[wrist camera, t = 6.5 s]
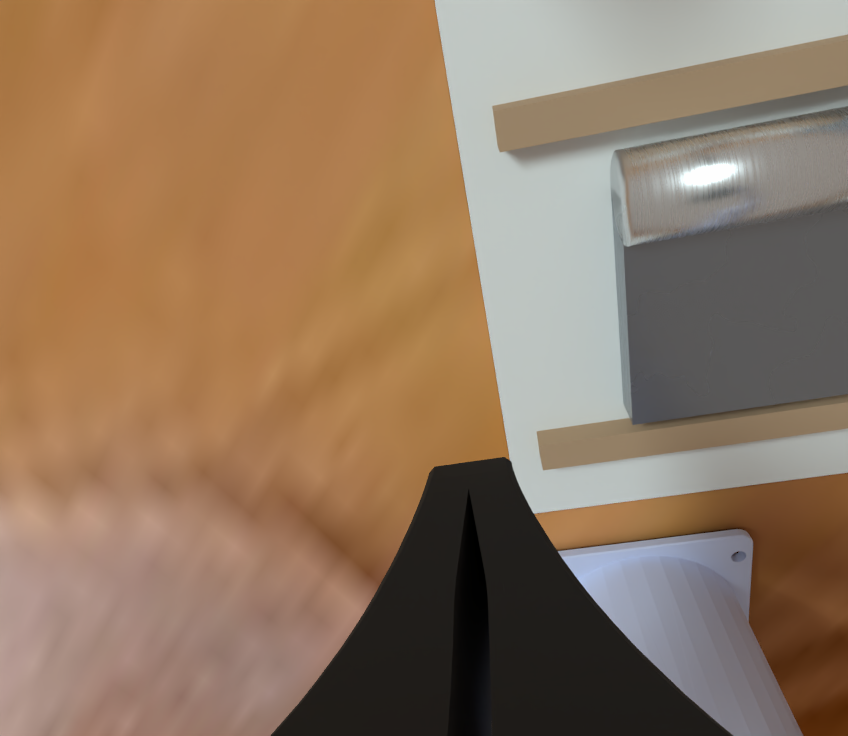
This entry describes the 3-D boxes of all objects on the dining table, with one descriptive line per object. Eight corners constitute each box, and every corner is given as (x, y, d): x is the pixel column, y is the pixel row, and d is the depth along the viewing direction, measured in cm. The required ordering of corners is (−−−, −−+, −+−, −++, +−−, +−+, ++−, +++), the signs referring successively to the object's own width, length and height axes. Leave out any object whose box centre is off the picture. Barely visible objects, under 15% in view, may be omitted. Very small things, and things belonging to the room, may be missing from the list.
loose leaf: (855, 369, 21) (902, 412, 18) (623, 403, 21) (642, 448, 19) (894, 85, 17) (959, 100, 15) (607, 140, 17) (630, 162, 15)
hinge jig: (1100, 433, 22) (1179, 487, 20) (518, 509, 24) (526, 566, 22) (1395, -379, 13) (1610, -461, 10) (412, -138, 15) (406, -160, 13)
